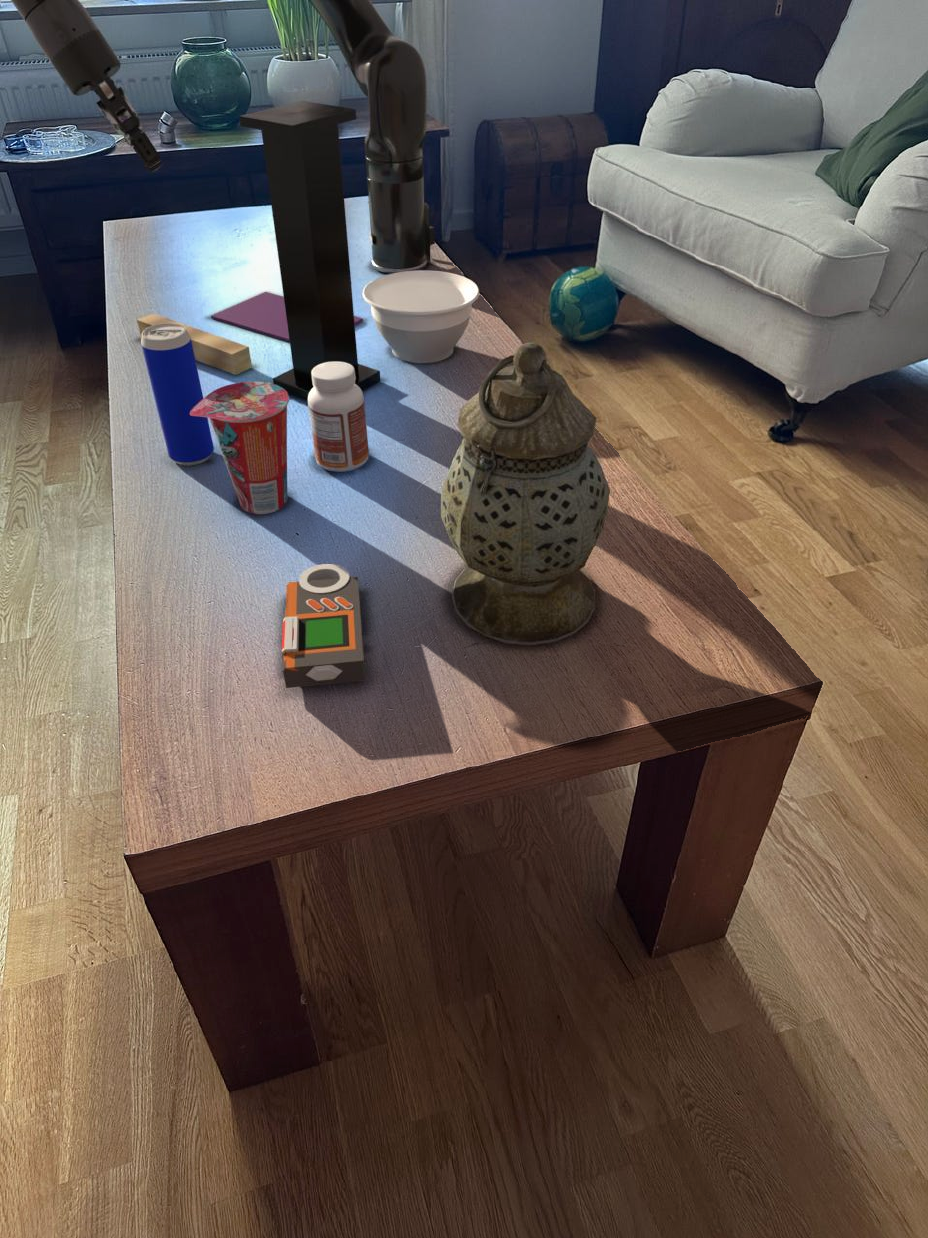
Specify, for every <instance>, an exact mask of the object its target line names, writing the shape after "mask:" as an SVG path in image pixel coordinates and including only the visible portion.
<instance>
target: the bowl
mask: <svg viewBox="0 0 928 1238" xmlns="http://www.w3.org/2000/svg"><path fill="white" fill-rule="evenodd" d="M479 296H480V289H479V287H478V285H477V284H476V282H474V281H473V280H472V279H469V278H467V277H466V276H463V275H460V274H456V273H453V272H448V271H440V270H428V269H427V270H425V269H421V270H416V271H404V272H398V273H393V274H391V273H388V274H385V275H381V276H379V277H377V278H375V279H373V280H371V281H370V282H368V283H366V285H365V286H364V288H363V290H362V297H363V300H364V301H365V302H366V303H367V304H368V305H370V308H371V315H372V318H373V321H374V323H375V326H376V329H377V330H378V332H379V334H380V335H381V338H383V339H384V341H385V342H386V343H387V345H388V346H389V347H390V348H391V351H392V354H393V356H394V357H395V358H397V359H398V360H401V361H404V362H408V363H412V364H432V363H437V362H441V361H444V360H445V359H447V358H449V357H451V356H452V355H453V353H454V348H455V346H456V345H457V344H458V342H459V341H460V340H461V339H462V337H463V335H464V333H465V331H466V329H467V327H468V325H469V322H470V318H471V315H472V305H473V303H475V301H476V300H478V298H479Z"/></svg>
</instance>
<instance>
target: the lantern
mask: <svg viewBox="0 0 928 1238" xmlns="http://www.w3.org/2000/svg"><path fill="white" fill-rule="evenodd" d="M511 364H513V365H511ZM494 365H495V366H493V367H492V368H491V369H490V371H489V372H488V373H487V374H486V376H484V378H483V380H482V382H481V383H480V386H479V390H478V392H477V393H476V394H474V395H473V396H472V397H471V398H470V399H468V400H467V401H466V402H465V404H463V405H462V406H461V407H460V409H459V414H458V419H457V427H458V429H459V431H460V432H459V433H460V435H461V436H462V437H463V438H462V440H461V443H460V445H459V447H458V449H457V450H456V452H455V454H454V457H453V459H452V461H451V464H450V467H449V470H448V472H447V475H446V478H445V480H444V483H443V485H442V488H441V491H440V518H441V520H442V523H443V525H444V528H445V530H446V533H447V535H448V538H449V540H450V542H451V544H452V546H453V548H454V550H455V551H456V553H457V554H458V556H459V557H460V558H461V560H462V562H464V564H465V565H466V567H465V568H464V569H463V570H461V573H460V574H459V575H458V576H457V578H456V579H455V580H454V583H453V589H452V594H451V600H452V603H453V607H454V610H455V614H456V615H457V616H458V617H459V618H460V619H461V621H462V622H463V623H464V624H465V626H466V627H467V628H470V629H471V630H473V631H475V632H477V633H478V634H480V635H482V636H484V637H487V638H490V639H492V640H495V641H498V642H501V643H504V644H508V645H519V646H536V645H543V644H550V643H551V644H552V643H555V642H557V641H560V640H563V639H565V638H568V637H570V636H573V635H574V634H576V633H577V632H578V631H579V630H580V629H582V628H583V627H585V626H586V625H587V624H588V622H589V621H590V619H591V617H592V615H593V613H594V611H595V608H596V589H594V585H593V584H592V582H591V580H590V578H589V577H588V576H587V575H586V574H585V573H584V572H582V570H581V569H583V568H584V567H585V566H586V564H587V562H588V560H589V558H590V556H591V554H592V552H593V550H594V548H595V546H596V544H597V542H598V541H599V539H600V537H601V535H602V533H603V531H604V528H605V524H606V520H607V516H608V509H609V501H610V495H611V494H610V493H611V489H610V487H609V483H608V481H607V477H606V475H605V473H604V469H603V466H602V465H601V463H600V460H599V459H598V457H597V456H596V454H595V452H594V451H593V449H592V448H591V446H590V445H589V442H590V440H592V438H593V436H594V435H595V429H596V424H597V419H598V418H597V416H595V414H594V413H593V412H592V411H591V410H590V409H589V408H588V407H587V406H586V404H584V403H583V402H582V401H581V400H580V399H579V398H578V397H577V396H576V394H574V393H573V391H572V389H571V388H570V386H569V385H568V382H567V381H566V380H565V378H564V376H563V375H562V374H560V373H559V372H558V371H556V370H554V369H552V367H551V366H550V364H549V363H548V358H547V353H546V351H545V349H544V348H543V347H542V346H541V345H540V344H537V343H536V342H533V341H532V342H530V341H529V342H525V343H523V344H520V345H519V347H517V349H516V350H515V351H514V354H512V355H508V356H507V357H504V358H502V359H501V360H500V361H499V362H498V363H496V364H494ZM509 365H510V366H509Z"/></svg>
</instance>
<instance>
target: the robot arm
mask: <svg viewBox="0 0 928 1238" xmlns="http://www.w3.org/2000/svg"><path fill="white" fill-rule="evenodd" d="M307 1H308V2H309V4H310V5H311V6H312V7H313V9H314V10H315V11H316V13H317V14H318V15H319V16H320V18H321V19H322V20H323V22H324V23H325V25H326V26H327V28H328V30H329V32H330V33H331V35H332V37H333V39H334V40H335V43H336V44H337V46H338V49H339V50H340V52H341V54H342V56H343V58H344V59H345V61H346V63H347V65H348V67H349V69H350V71H351V74H352V75H353V77H354V79H355V82H356V84H357V85H358V88H359V89H360V90H361V92H362V93H363V94H364V96H366V97H367V98H368V112H369V113H368V114H369V128H368V129H369V130H368V132H367V134H366V136H365V138H364V153H365V167H366V169H365V170H366V181H367V196H368V197H367V199H368V211H369V212H368V213H369V227H370V228H369V229H370V230H368V234H369V235H368V236H369V241H370V244H371V266H372V268H373V269H374V270H375V271H377V272H381V273H384V274H385V273H386V274H393V273H398V272H404V271H416V270H424V268H426V267H427V265H428V264H431V262H432V261H431V247H432V246H433V245H435V244H436V227H435V226H431V224H430V223H431V221H430V205H429V204H428V203H426V202H425V176H424V174H425V173H424V142H425V141H426V136H427V125H428V124H427V121H428V120H427V119H428V87H427V86H428V82H427V71H426V67H425V62H424V59H423V57H422V55H421V53H420V52H419V51H418V49H417V48H416V47H415V46H414V45H412V43H410V42H408V41H406V40H404V39H401V38H399V37H397V36H396V35H395V34H394V33H393V32H392V30H391V29H390V28H389V26H388V24H387V23H386V22H385V21H384V19H383V18H382V16H381V15H380V13H379V12H378V10H377V8H376V7H375V6H374V3H372V1H371V0H307ZM10 2H11V3H12V4H13V7H15V9H16V11H17V12H18V14H19V15H20V16H21V17H22V19H23V20H24V22H25V24H26V25H27V26H28V28H29V30H30V32H31V33H32V35H33V38H34V39H35V41H36V43H37V44H38V45H39V47H40V48H41V50H42V51H43V53H44V55H45V56H46V57H47V59H48V60H49V62H50V63H51V65H52V66H53V68H54V70H55V71H56V72H57V73H58V75H59V76H60V78H61V79H62V81H63V82H64V83H65V85H66V86H67V88H68V89H69V91H70V92H71V94H72V95H73V96H76V97H79V96H84V95H86V94H88V93H89V92H94V93H95V94H96V96H97V97H98V99H99V100H98V101H96V102H95V104H96V106H97V108H98V110H99V111H100V112H101V114H102V115H103V116H104V118H105V119H106V120H108V121H109V122H110V124H111V125H112V127H113V129H114V130H115V131H116V133H117V134H118V135H119V136H123V138H124V141H125V142H126V144H127V145H128V146H130V147H131V148H132V149H133V150H134V152H135V153H136V155H137V157H138V158H139V159H140V161H141V162H142V164H143V165H144V167H145V168H146V170H147V171H148V172H149V173H154V172H155V171H157V170H158V169H160V168H161V167H162V166H163V165H162V163H163V162H162V161H161V160H162V157H161V155H160V153H159V152H158V150H157V148H156V147H155V146H154V144H153V143H152V141H151V140H150V138H149V137H148V135H147V134H146V132H145V129H144V126H143V124H142V123H141V121H140V119H139V115H138V113H137V111H136V109H135V108H134V107H133V105H132V103H131V102H130V99H129V97H128V95H127V94H126V92H125V91H124V89H123V88H122V86H120V87H117V86H116V85H115V81H114V79H113V78H112V77H114V76H115V75H116V74H117V73H118V72H119V71H120V69H121V66H122V65H121V61H120V59H119V58H118V56H117V55H116V52H114V50H113V48H112V46H111V45H110V44H109V42H108V41H107V40H106V38H105V36H104V35H103V33H102V32H101V30H100V29H99V27H98V25H97V24H96V23H95V21H94V20H93V18H92V16H91V15H90V13H89V12H88V10H87V9H86V8H85V6H84V5H83V4H82V3H81V2H80V0H10Z"/></svg>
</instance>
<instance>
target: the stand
mask: <svg viewBox="0 0 928 1238" xmlns="http://www.w3.org/2000/svg"><path fill="white" fill-rule="evenodd" d="M238 118H239V125H240V127H242V128H248V129H253V130H258V131H260V132H261V139H262V146H263V147H262V148H263V152H264V160H265V167H266V169H265V170H266V175H267V184H268V191H269V199H270V205H271V213H272V220H273V228H274V235H275V236H274V237H275V243H276V250H277V257H278V265H279V272H280V280H281V287H282V294H283V295H282V296H283V297H284V303H285V311H286V318H287V325H288V333H289V340H290V342H289V347H290V354H291V361H292V368H291V369H288V370H287V371H284V372H283V373H281V374H279V375H277V376H275V377H273V378H272V384H275V385H278V386H280V387H282V388H283V389H284V390H286V392H287V393H288V395H290V396H293V397H295V398H298V399H301V400H304V401H306V402H308V395H309V392H310V391H311V389H312V388H313V387H314V386H313V382H312V374H311V372H312V369H313V368H314V367H316V366H317V365H319V364H322V363H326V362H345V363H348V364H350V365H352V366H353V367H354V370H355V377H356V380H355V384H356V385H357V386H359V387H360V389H361V390H362V392H364V391H366V390H368V389H370V388H371V387H373V386H375V385H377V384H378V383H380V382H381V371H380V370H379V369H375V368H372V367H369V366H367V365H364V364H360V363H359V361H358V359H359V358H358V348H357V337H356V327H355V326H356V325H355V323H354V316H355V313H354V311H355V310H354V299H353V287H352V280H351V279H352V277H351V265H350V263H351V262H350V253H349V240H348V230H347V229H348V228H347V227H348V226H347V216H346V205H345V194H344V182H343V180H344V179H343V171H342V170H343V169H342V158H341V157H342V156H341V147H340V145H341V143H340V136H339V135H340V131H339V125H340V124H344V123H348V122H352V121H355V120H357V110H356V108H351V107H344V106H337V105H331V104H324V103H321V102H313V101H306V100H301V101H297V102H293V103H289V104H284V105H280V106H276V107H271V108H267V109H263V110H259V111H255V112H249V113H246V114H241V115H239V117H238Z"/></svg>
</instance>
